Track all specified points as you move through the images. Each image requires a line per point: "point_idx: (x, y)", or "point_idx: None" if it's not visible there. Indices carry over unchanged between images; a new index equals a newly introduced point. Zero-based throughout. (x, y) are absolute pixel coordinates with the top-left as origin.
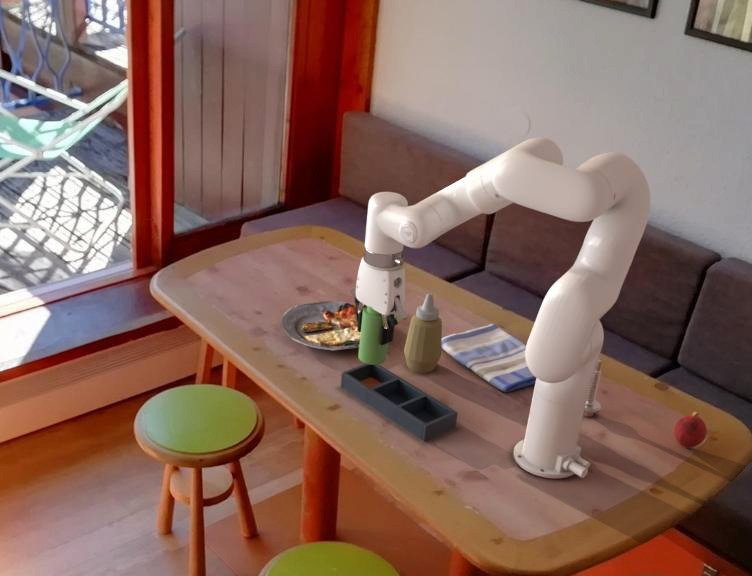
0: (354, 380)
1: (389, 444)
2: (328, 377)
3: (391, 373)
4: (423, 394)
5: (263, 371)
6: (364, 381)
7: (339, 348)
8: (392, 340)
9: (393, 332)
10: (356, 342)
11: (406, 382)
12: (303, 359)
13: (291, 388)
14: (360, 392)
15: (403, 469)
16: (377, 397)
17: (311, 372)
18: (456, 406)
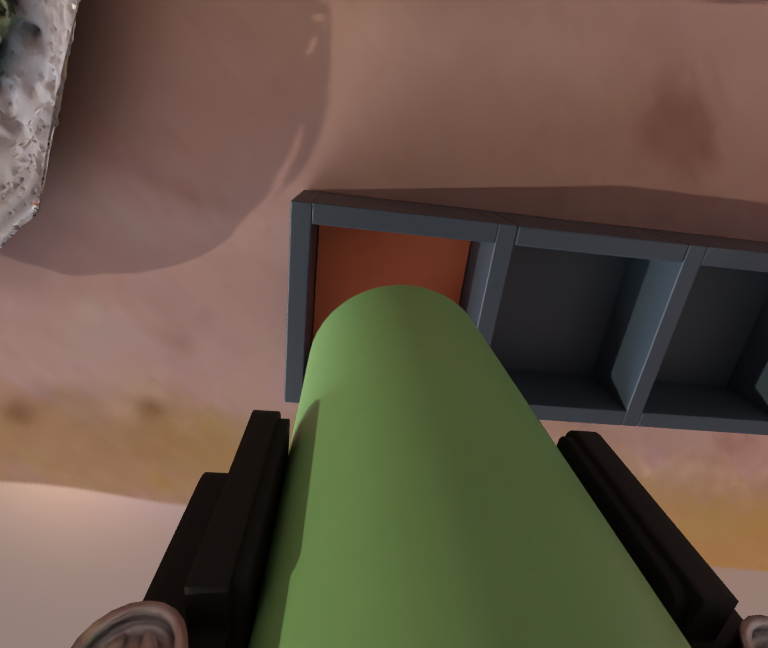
0: None
1: (633, 468)
2: (197, 335)
3: (453, 229)
4: (685, 264)
5: (26, 478)
6: (331, 269)
7: (9, 139)
8: (595, 433)
9: (650, 498)
10: (4, 19)
11: (563, 240)
12: (6, 310)
13: (186, 478)
14: None
15: (722, 517)
16: None
17: (125, 358)
18: (744, 87)
